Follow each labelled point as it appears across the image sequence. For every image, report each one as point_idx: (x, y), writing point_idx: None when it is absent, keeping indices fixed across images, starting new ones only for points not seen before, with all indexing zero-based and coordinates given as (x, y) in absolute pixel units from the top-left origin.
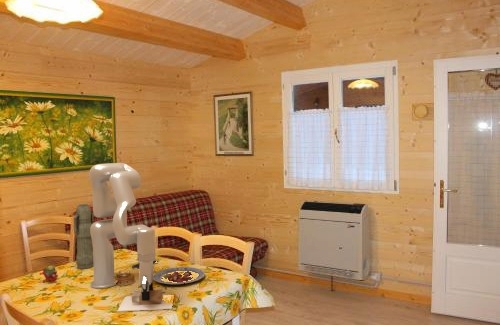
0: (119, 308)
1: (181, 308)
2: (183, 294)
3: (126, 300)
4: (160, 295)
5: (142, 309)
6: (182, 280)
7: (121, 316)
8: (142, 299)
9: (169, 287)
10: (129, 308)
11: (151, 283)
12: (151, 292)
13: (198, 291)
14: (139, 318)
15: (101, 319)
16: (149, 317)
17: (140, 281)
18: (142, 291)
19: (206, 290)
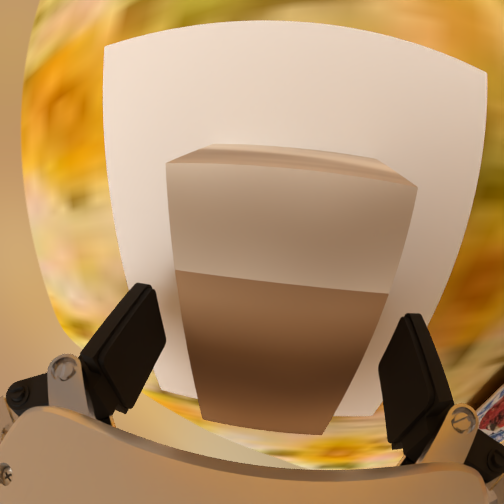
0: (151, 39)
1: (182, 409)
2: (363, 428)
3: (376, 66)
4: (203, 414)
5: (123, 252)
6: (500, 410)
7: (54, 112)
8: (134, 292)
9: (493, 372)
10: (139, 135)
11: (392, 440)
12: (276, 385)
13: (367, 453)
14: (46, 236)
15: (43, 11)
16: (65, 286)
17: (4, 458)
18: (63, 360)
19: (362, 462)
